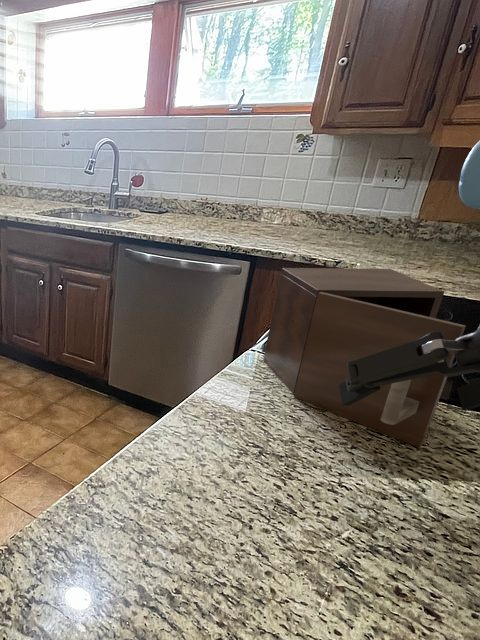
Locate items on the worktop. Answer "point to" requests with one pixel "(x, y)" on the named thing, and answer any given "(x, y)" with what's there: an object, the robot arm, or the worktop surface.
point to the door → (363, 340)
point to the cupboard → (356, 284)
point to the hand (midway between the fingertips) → (402, 397)
